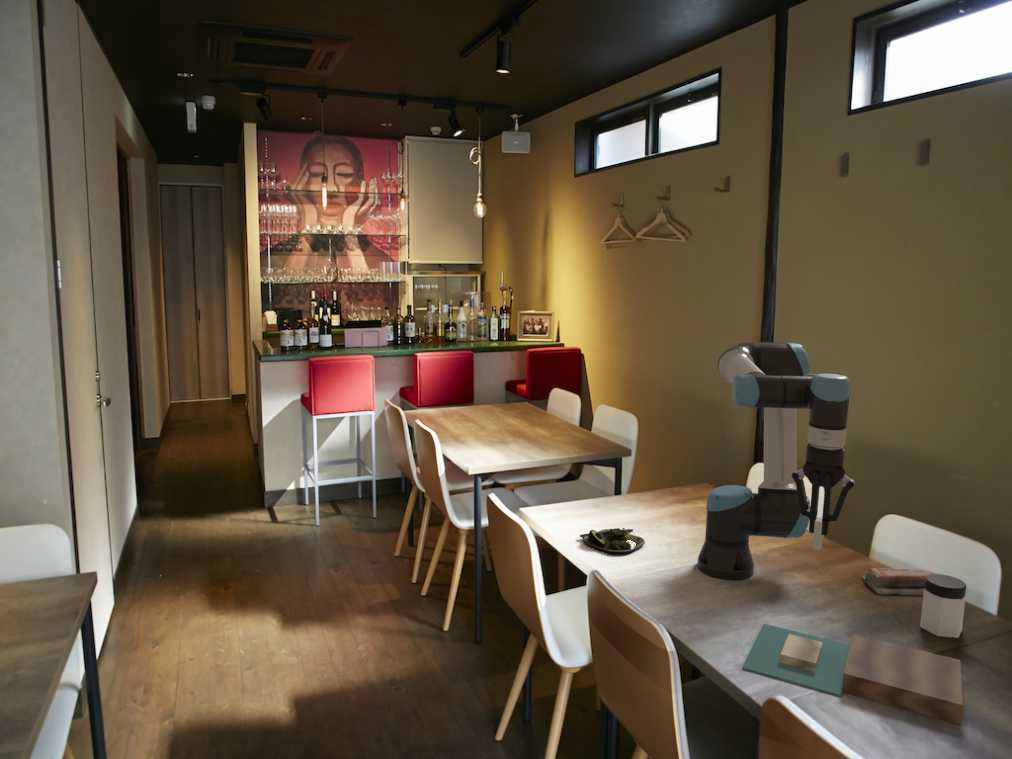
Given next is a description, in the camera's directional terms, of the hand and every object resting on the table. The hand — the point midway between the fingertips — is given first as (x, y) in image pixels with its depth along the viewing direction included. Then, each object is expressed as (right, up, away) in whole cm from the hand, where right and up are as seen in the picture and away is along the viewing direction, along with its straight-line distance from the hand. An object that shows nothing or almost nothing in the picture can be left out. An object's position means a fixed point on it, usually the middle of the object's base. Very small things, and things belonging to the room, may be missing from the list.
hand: (817, 547), depth 159 cm
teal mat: (-6, -23, -5) cm, 24 cm away
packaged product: (+36, -18, +31) cm, 51 cm away
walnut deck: (+11, -24, -15) cm, 30 cm away
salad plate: (-37, -13, +59) cm, 71 cm away
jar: (+33, -21, +8) cm, 40 cm away
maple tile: (-6, -20, -5) cm, 22 cm away
